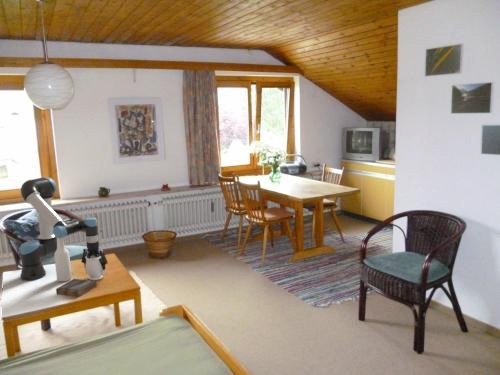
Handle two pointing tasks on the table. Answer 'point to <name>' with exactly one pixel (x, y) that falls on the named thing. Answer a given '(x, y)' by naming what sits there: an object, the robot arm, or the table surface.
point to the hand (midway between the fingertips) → (95, 273)
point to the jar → (94, 267)
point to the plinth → (76, 287)
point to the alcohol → (62, 262)
